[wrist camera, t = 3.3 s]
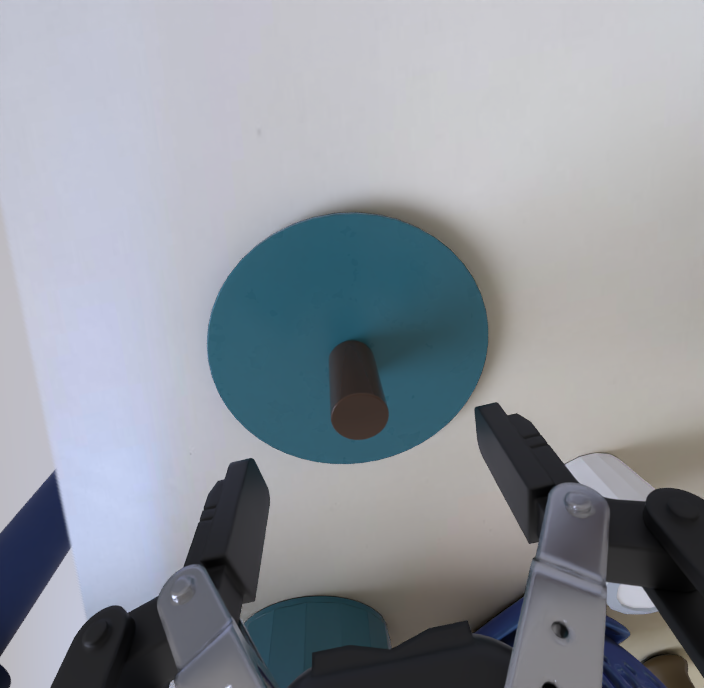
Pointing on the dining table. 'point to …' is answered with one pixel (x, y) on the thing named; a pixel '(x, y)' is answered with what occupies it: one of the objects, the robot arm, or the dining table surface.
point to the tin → (312, 632)
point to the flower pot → (618, 665)
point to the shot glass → (622, 485)
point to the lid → (347, 338)
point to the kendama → (670, 670)
